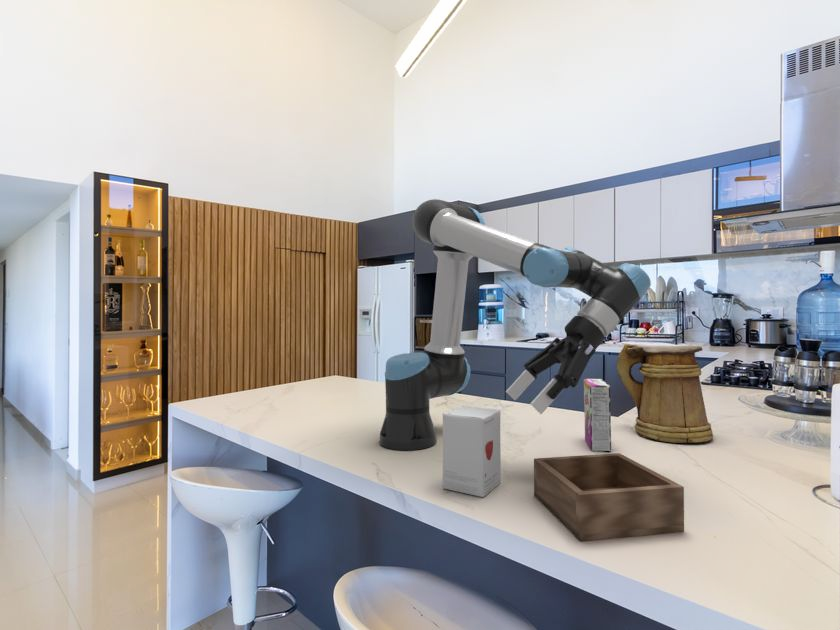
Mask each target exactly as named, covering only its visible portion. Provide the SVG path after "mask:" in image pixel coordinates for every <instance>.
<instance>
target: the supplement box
mask: <svg viewBox="0 0 840 630" xmlns="http://www.w3.org/2000/svg"><path fill="white" fill-rule="evenodd" d="M501 445H502V444H501V409H494V408H487V407H486V408H483V407H476V406H475V407H474V406H469V405H468V406H467V405H461V406H459V407H457V408H454V409H451V410H449V411H446V412H443V413H442V489H445V490H450V491H452V492H453V491H454V492H457V493H462V494H466V495H471V496H476V497H478V498H479V497H480V498H484V497H486V496H487V495H488V494H490V492H492V491H493V490H494V489H495V488H496V487H497V486H499V485H500V484H501V483H502V480H501V479H502V477H501V476H502V475H501V474H502V473H501V467H502V466H501V464H502V463H501V460H502V459H501V456H502V455H501V452H502V451H501V448H502V447H501Z"/></svg>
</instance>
